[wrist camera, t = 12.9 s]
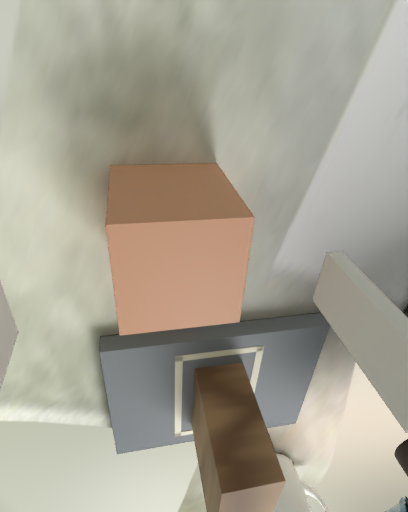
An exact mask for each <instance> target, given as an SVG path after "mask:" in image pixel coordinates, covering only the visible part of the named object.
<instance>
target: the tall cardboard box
mask: <svg viewBox="0 0 408 512" xmlns="http://www.w3.org/2000/svg"><path fill="white" fill-rule="evenodd" d="M192 429H193V435H194V441H195V446H196V452H197V458H198V463H199V469H200V475H201V480H202V486H203V492H204V498H205V503H206V509H207V512H274V510H275V507H276V505H277V502H278V500H279V497H280V494H281V492H282V489H283V487H284V484H285V481H286V480H285V478H284V475H283V472H282V469H281V467H280V464H279V461H278V458H277V455H276V453H275V450H274V447H273V444H272V442H271V439H270V436H269V433H268V431H267V428H266V425H265V422H264V419H263V417H262V414H261V411H260V408H259V406H258V403H257V400H256V397H255V395H254V392H253V389H252V386H251V384H250V381H249V378H248V375H247V372H246V370H245V367H244V364H243V362H242V363H234V364H226V365H219V366H211V367H204V368H196V369H195V377H194V394H193V411H192Z"/></svg>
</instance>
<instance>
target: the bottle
mask: <svg viewBox="0 0 408 512" xmlns="http://www.w3.org/2000/svg"><path fill="white" fill-rule="evenodd" d="M395 457H396V459H397V460H398V462H399V464H400V465H401V467H402V468H403V470H404V471H405V473H406V474H407V476H408V439H407V440H406V441H404V442H403V443H402V444H400V445H399V446H398V447H397V449H396V451H395Z"/></svg>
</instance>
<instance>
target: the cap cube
mask: <svg viewBox="0 0 408 512" xmlns="http://www.w3.org/2000/svg"><path fill="white" fill-rule="evenodd" d="M254 218H255V217H254V216H253V214H252V213H251V211H250V210H249V209H248V207H247V206H246V204H245V203H244V201H243V200H242V199H241V197H240V196H239V194H238V193H237V191H236V190H235V189H234V187H233V186H232V184H231V183H230V181H229V180H228V179H227V177H226V176H225V174H224V173H223V171H222V170H221V169H220V167H219V166H218V164H217V163H198V164H147V165H110V176H109V188H108V200H107V212H106V224H105V225H106V233H107V241H108V249H109V256H110V264H111V272H112V280H113V288H114V296H115V304H116V311H117V319H118V327H119V335H120V336H121V335H130V334H139V333H148V332H157V331H166V330H175V329H183V328H192V327H201V326H210V325H219V324H228V323H237V322H240V317H241V309H242V302H243V295H244V288H245V281H246V274H247V267H248V260H249V253H250V246H251V239H252V232H253V225H254Z"/></svg>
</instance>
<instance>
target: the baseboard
mask: <svg viewBox="0 0 408 512" xmlns="http://www.w3.org/2000/svg"><path fill="white" fill-rule="evenodd" d="M329 326H330V325H329V324H328V322H327V321H326V319H325V318H324V316H323V315H322V314H321V313H315V314H306V315H296V316H287V317H278V318H269V319H260V320H250V321H241V322H237V323H228V324H219V325H210V326H201V327H192V328H183V329H175V330H166V331H157V332H148V333H139V334H130V335H121V336H120V335H112V336H103V337H100V350H99V353H100V359H101V365H102V371H103V376H104V382H105V388H106V394H107V399H108V405H109V411H110V417H111V422H112V428H113V434H114V439H115V445H116V451H117V454H121V453H127V452H133V451H138V450H144V449H150V448H155V447H161V446H167V445H173V444H179V443H184V442H190V441H194V435H193V429H192V411H193V394H194V377H195V369H196V368H204V367H211V366H219V365H226V364H234V363H242V362H243V364H244V367H245V370H246V372H247V375H248V378H249V381H250V384H251V386H252V389H253V392H254V395H255V397H256V400H257V403H258V406H259V408H260V411H261V414H262V417H263V419H264V422H265V425H266V428H271V427H277V426H282V425H288V424H294V423H296V421H297V418H298V415H299V412H300V409H301V407H302V404H303V401H304V398H305V395H306V392H307V389H308V386H309V384H310V381H311V378H312V375H313V372H314V369H315V366H316V364H317V361H318V358H319V355H320V352H321V349H322V346H323V344H324V341H325V338H326V335H327V332H328V329H329Z"/></svg>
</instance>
